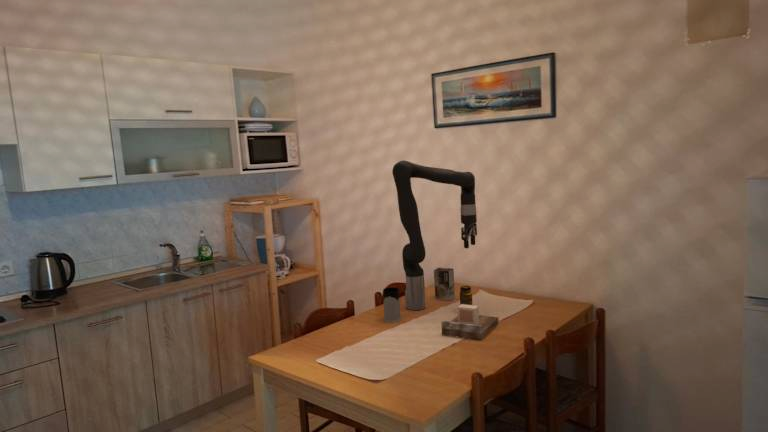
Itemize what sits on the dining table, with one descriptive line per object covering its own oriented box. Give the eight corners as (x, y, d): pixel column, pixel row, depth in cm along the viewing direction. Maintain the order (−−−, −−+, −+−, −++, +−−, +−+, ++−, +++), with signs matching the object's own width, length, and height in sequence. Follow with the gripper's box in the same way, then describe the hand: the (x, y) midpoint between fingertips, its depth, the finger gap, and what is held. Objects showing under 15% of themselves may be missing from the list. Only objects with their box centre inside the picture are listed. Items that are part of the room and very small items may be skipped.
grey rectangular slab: (441, 334, 228) (441, 321, 227) (461, 319, 247) (460, 306, 246) (481, 340, 218) (480, 326, 218) (498, 323, 237) (498, 310, 236)
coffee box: (455, 297, 281) (454, 268, 279) (450, 300, 276) (448, 271, 274) (440, 295, 286) (438, 267, 284) (434, 299, 281) (433, 269, 279)
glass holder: (381, 322, 248) (379, 292, 246) (388, 313, 262) (386, 284, 260) (399, 323, 246) (397, 292, 244) (405, 313, 260) (403, 284, 258)
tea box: (462, 321, 235) (461, 303, 234) (479, 323, 230) (478, 305, 229) (458, 324, 230) (457, 307, 229) (475, 326, 226) (474, 309, 225)
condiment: (476, 310, 259) (475, 286, 257) (465, 314, 253) (464, 290, 251) (464, 307, 264) (463, 284, 262) (453, 311, 258) (452, 288, 256)
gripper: (466, 211, 260) (468, 243, 262) (455, 215, 248) (456, 249, 250) (481, 211, 256) (482, 244, 258) (470, 215, 244) (471, 249, 246)
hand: (469, 246), depth 254 cm, fingers open, 8 cm apart
